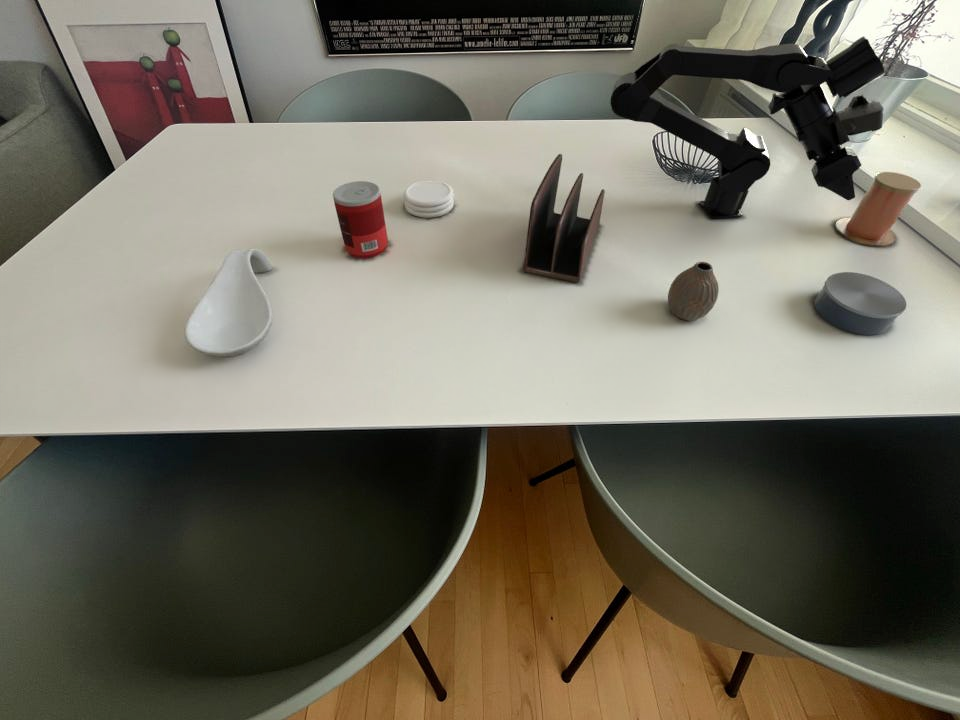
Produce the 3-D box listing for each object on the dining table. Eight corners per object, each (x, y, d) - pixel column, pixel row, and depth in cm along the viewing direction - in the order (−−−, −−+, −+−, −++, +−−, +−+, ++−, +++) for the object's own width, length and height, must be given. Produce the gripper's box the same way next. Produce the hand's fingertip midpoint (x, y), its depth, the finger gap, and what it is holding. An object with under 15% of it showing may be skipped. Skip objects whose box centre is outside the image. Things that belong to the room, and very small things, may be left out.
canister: (886, 244, 89) (922, 193, 82) (844, 234, 91) (876, 184, 84) (885, 226, 93) (919, 177, 86) (845, 218, 95) (875, 168, 88)
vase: (710, 329, 73) (732, 283, 67) (664, 323, 74) (681, 277, 68) (705, 301, 78) (725, 255, 71) (661, 296, 79) (677, 250, 72)
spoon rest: (273, 364, 68) (256, 326, 63) (186, 373, 66) (161, 336, 61) (292, 267, 84) (280, 231, 79) (222, 273, 83) (205, 237, 78)
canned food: (396, 241, 90) (388, 185, 82) (372, 264, 85) (361, 206, 77) (362, 232, 92) (351, 177, 84) (337, 253, 87) (322, 197, 79)
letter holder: (522, 272, 83) (528, 196, 73) (549, 217, 96) (558, 146, 86) (579, 284, 81) (593, 207, 71) (599, 226, 94) (614, 153, 84)
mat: (856, 248, 89) (858, 246, 88) (824, 220, 96) (825, 218, 95) (906, 245, 89) (908, 243, 89) (870, 217, 96) (871, 216, 96)
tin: (840, 338, 72) (855, 318, 69) (799, 294, 79) (811, 274, 76) (906, 333, 73) (924, 313, 70) (859, 289, 80) (874, 269, 77)
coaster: (396, 213, 97) (394, 197, 95) (418, 191, 104) (417, 175, 101) (441, 223, 94) (440, 206, 92) (461, 200, 101) (460, 184, 98)
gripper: (881, 102, 71) (917, 184, 77) (856, 67, 84) (888, 140, 89) (798, 148, 79) (836, 220, 84) (786, 110, 91) (819, 175, 97)
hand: (846, 187), depth 88 cm, fingers open, 9 cm apart
